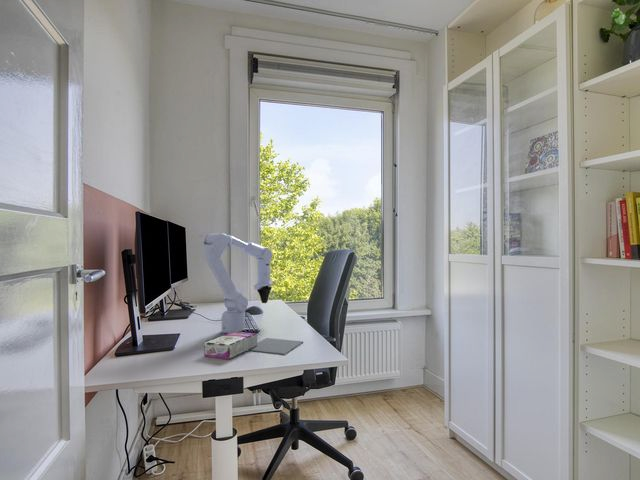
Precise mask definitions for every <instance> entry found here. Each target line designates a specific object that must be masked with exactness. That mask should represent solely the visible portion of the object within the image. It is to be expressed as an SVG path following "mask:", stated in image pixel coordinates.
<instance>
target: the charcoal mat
mask: <svg viewBox="0 0 640 480" xmlns="http://www.w3.org/2000/svg"><path fill="white" fill-rule="evenodd" d="M303 343H304V341H302V340H294V339H293V340H292V339H282V338H281V339H280V338H272V337H266V338H263V339H262V340H260V341H257V346H255V347H253V348H251V349H249V350H247V351H248V352H255V353H263V354H264V353H266V354H275V355H281V356H286V355H288V354H289V353H290V352H292V351H293V350H295V349H297V348H298V347H299V346H300V345H302V344H303Z"/></svg>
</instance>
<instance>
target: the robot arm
mask: <svg viewBox="0 0 640 480" xmlns="http://www.w3.org/2000/svg"><path fill="white" fill-rule="evenodd" d="M202 245H203V247H204V258H205V262H206V263H207V265H208V267H209V269H210V270H211V272H212V274H213V276H214V278H215V280H216V281H217V283H218V285H219V287H220V288H221V290H222V293H223V295H222V299H223V302H224V303H223V304H224V307H225V308H226V310H225V311H223V312H222V314H221V331H220V333H222V334H228V333H231V332H239V331H242V330H244V329H246V320H245V319H246V318H245V317H246V315H245V314H246V309H248V305H249V302H248V301H249V300H248V299H247V298H246V297H245V296H244V295H243V293H242V292H241V291H240V290H239V289H237V288H236V285H235V283H234V281H233V280H232V278H231V276H230V274H229V272H228V270H227V269H226V267H225V265H224V263H223V261H222V259H221V256H222V254H223V253H224V252H225V250H226V249H227V247H230V246H231V247H234V248H237V249H240V250H243V254H245V255H249V256H250V257H253V258H255V259H256V260H257V283H256V284H254V287H253V288H254V289H253V290H256V291H257V292H258V294H259V298H260V301H261V303H262V304H268V300H269V296H270V293H271V291H272V287H271V286H274V280H271V262H272V259H273V256H274V255H273V252H272V250H271V249H270V248H269V247H264V246H263V245H262V244H257V243H256V242H255V241H247V242H245V241H242V240H240V239H238V238H236V237H235V236H233V235H230V234H226V233H224V232H223V233H222V232H220V233H208V234H206V235H205V237H204V239H203V242H202Z"/></svg>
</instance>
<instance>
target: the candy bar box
mask: <svg viewBox="0 0 640 480" xmlns="http://www.w3.org/2000/svg"><path fill="white" fill-rule="evenodd" d="M257 343H258V333H256V332H247V331H245V332H231V333H225V334H222V335H221V336H218V337H215V338H213V339H210V340H208V341H206V342H203V348H204V349H203V350H204V353H203V354H204V357H210V358H211V357H212V358H220V359H228V360H229V359H232V358H233V357H236V356H238V355H241V354H242V353H245V352H246V351H247V350H249V349H251V348H253V347H255V346H257Z"/></svg>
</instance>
